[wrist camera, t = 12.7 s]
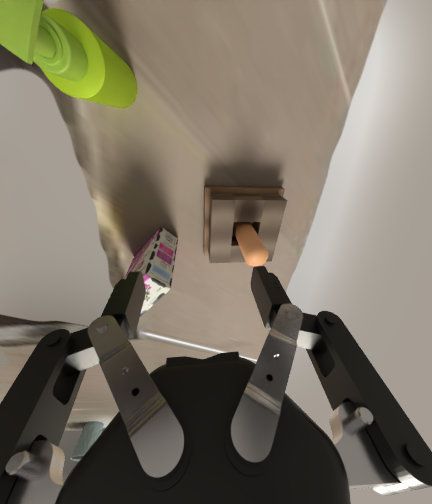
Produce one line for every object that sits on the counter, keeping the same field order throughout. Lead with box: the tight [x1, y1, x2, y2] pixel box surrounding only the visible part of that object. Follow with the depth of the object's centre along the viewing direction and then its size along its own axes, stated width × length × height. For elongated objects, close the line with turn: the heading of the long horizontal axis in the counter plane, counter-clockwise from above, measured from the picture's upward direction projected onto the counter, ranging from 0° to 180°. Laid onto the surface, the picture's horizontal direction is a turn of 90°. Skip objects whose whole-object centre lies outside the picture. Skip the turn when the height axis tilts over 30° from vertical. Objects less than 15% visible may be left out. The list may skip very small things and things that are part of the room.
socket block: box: [204, 186, 287, 263], centre depth 41 cm, size 16×16×6 cm
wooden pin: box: [233, 222, 268, 266], centre depth 37 cm, size 4×4×12 cm
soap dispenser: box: [0, 0, 137, 108], centre depth 20 cm, size 6×7×20 cm
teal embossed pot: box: [71, 422, 103, 461], centre depth 92 cm, size 10×10×12 cm
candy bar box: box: [124, 227, 178, 316], centre depth 38 cm, size 11×5×16 cm, turn 136°
